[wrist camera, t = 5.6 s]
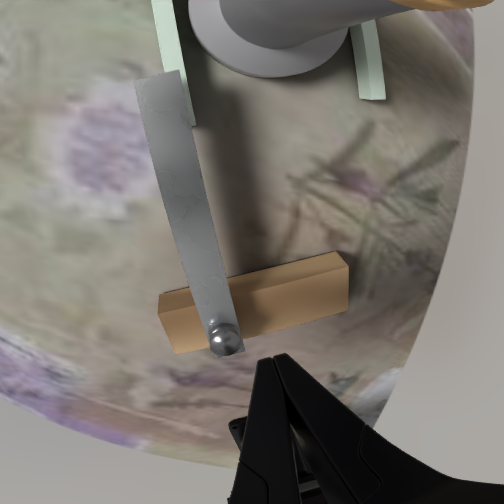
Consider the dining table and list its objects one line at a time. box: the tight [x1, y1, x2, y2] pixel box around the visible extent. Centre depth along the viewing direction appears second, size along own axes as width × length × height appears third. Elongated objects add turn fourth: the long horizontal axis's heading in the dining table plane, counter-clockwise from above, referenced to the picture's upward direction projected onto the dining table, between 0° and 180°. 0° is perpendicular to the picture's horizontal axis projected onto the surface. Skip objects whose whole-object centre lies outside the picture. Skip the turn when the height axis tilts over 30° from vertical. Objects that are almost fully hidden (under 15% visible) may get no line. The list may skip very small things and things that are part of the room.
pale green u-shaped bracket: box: [151, 0, 386, 126], centre depth 11 cm, size 10×10×1 cm
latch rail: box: [158, 251, 349, 354], centre depth 17 cm, size 3×10×2 cm, turn 100°
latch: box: [134, 69, 245, 358], centre depth 13 cm, size 13×2×2 cm, turn 10°
